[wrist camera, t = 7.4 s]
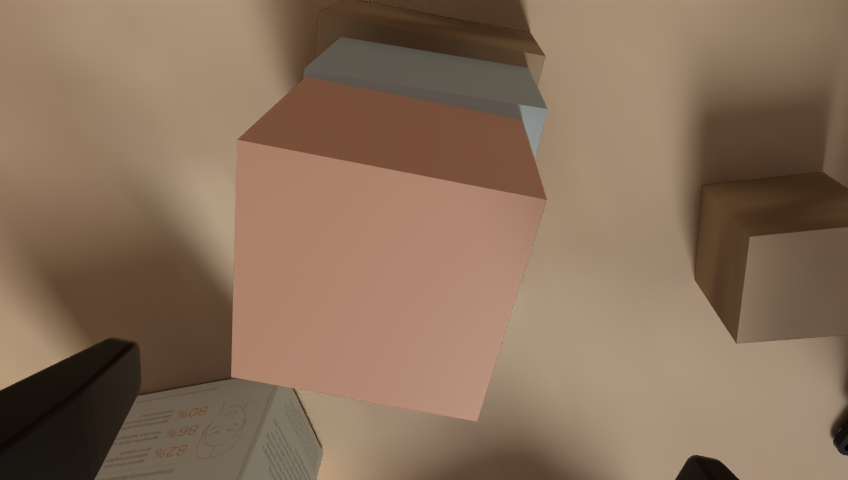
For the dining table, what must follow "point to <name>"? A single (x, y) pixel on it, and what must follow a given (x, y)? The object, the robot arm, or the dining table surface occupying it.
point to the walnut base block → (427, 34)
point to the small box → (215, 435)
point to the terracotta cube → (380, 246)
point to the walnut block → (775, 256)
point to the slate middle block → (435, 79)
